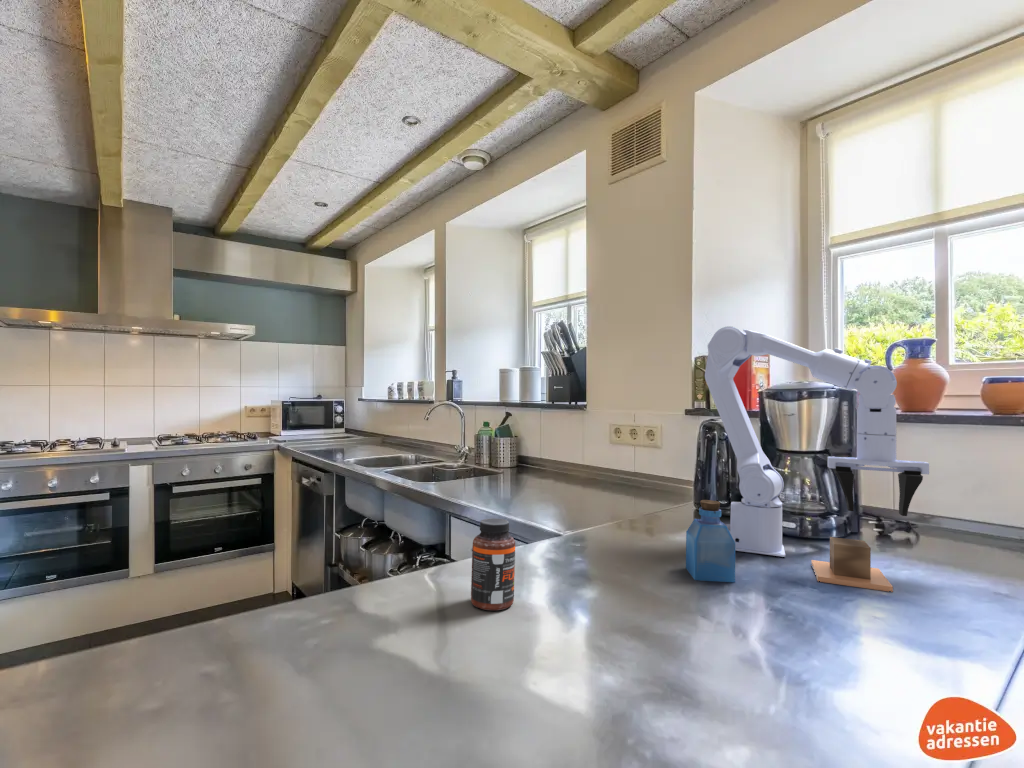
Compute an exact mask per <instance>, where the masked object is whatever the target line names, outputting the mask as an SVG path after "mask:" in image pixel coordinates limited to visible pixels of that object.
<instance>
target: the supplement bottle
mask: <svg viewBox="0 0 1024 768" xmlns="http://www.w3.org/2000/svg"><path fill="white" fill-rule="evenodd" d="M479 531H480V533H479V534H477V535H476V536H475V537H474V538H473V540H472V549H471V550H472V551H471V552H472V553H471V581H470V582H471V583H470V584H471V585H470V601H471V604H472V605H473V606H474V607H475V608H478V609H480V610H484V611H492V612H495V611H503V610H506V609H508V608H510V607H511V606H512V605H513V603H514V598H515V574H516V573H515V571H516V570H515V567H516V540H515V539H514V537H513V536H511V534H510V532H509V531H510V522H509V521H508V520H507V519H503V518H493V517H492V518H491V517H490V518H484V519H481V520H480V524H479Z"/></svg>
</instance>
